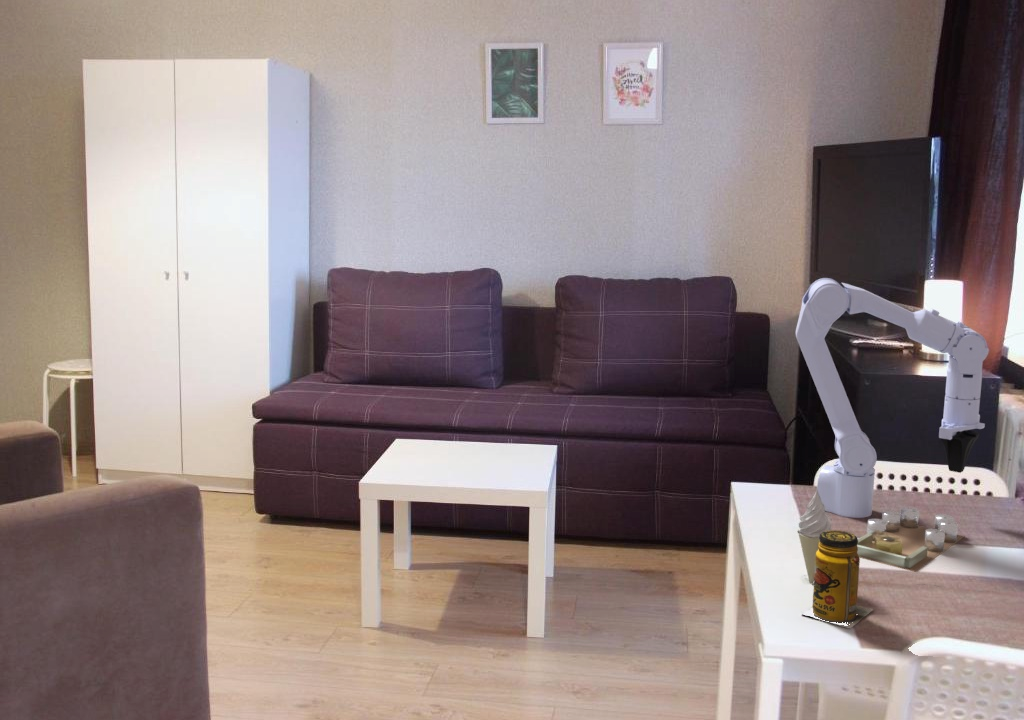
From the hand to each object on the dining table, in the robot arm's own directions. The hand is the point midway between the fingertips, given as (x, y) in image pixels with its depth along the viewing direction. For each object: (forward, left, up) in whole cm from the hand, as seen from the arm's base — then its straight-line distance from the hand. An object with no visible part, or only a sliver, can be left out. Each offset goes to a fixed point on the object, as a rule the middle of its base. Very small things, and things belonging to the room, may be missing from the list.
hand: (956, 471), depth 190 cm
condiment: (+2, -51, -10) cm, 52 cm away
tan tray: (-1, -20, -10) cm, 22 cm away
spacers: (-1, -15, -9) cm, 17 cm away
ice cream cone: (-6, -43, -10) cm, 45 cm away
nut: (-1, -26, -9) cm, 27 cm away
